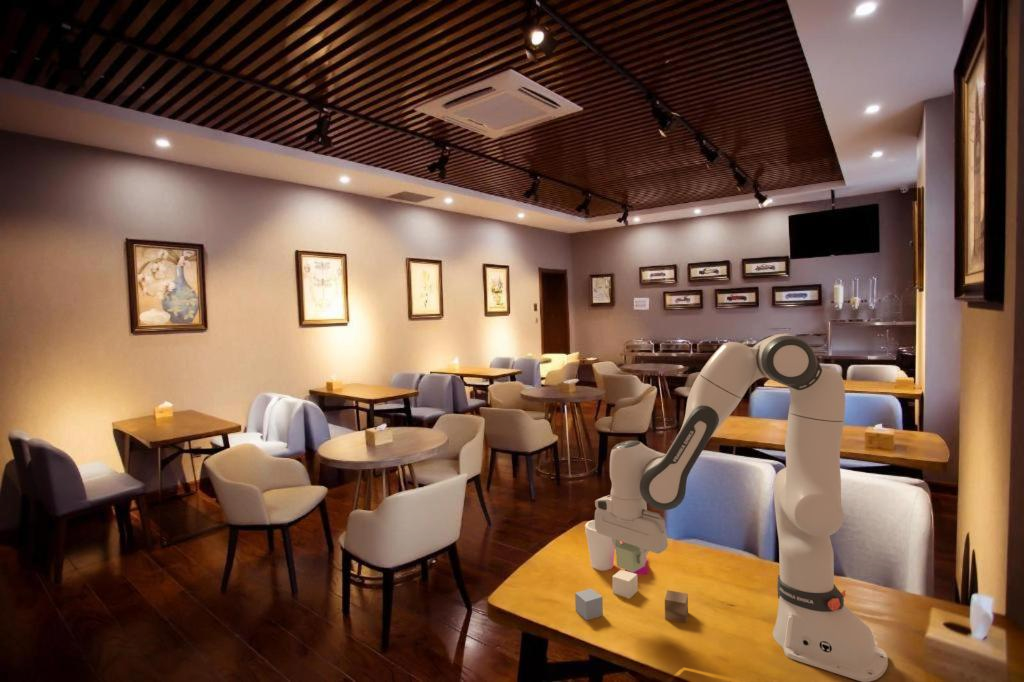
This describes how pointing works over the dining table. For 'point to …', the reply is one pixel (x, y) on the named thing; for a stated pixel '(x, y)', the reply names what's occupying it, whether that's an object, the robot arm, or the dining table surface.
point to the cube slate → (589, 604)
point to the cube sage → (628, 557)
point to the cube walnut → (676, 606)
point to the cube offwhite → (625, 583)
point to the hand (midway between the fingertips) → (630, 559)
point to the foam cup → (599, 548)
